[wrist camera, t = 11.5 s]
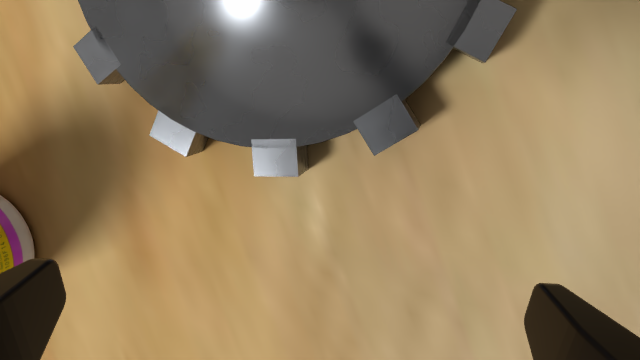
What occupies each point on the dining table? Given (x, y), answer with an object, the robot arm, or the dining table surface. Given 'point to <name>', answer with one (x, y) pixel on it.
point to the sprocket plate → (282, 67)
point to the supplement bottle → (13, 237)
